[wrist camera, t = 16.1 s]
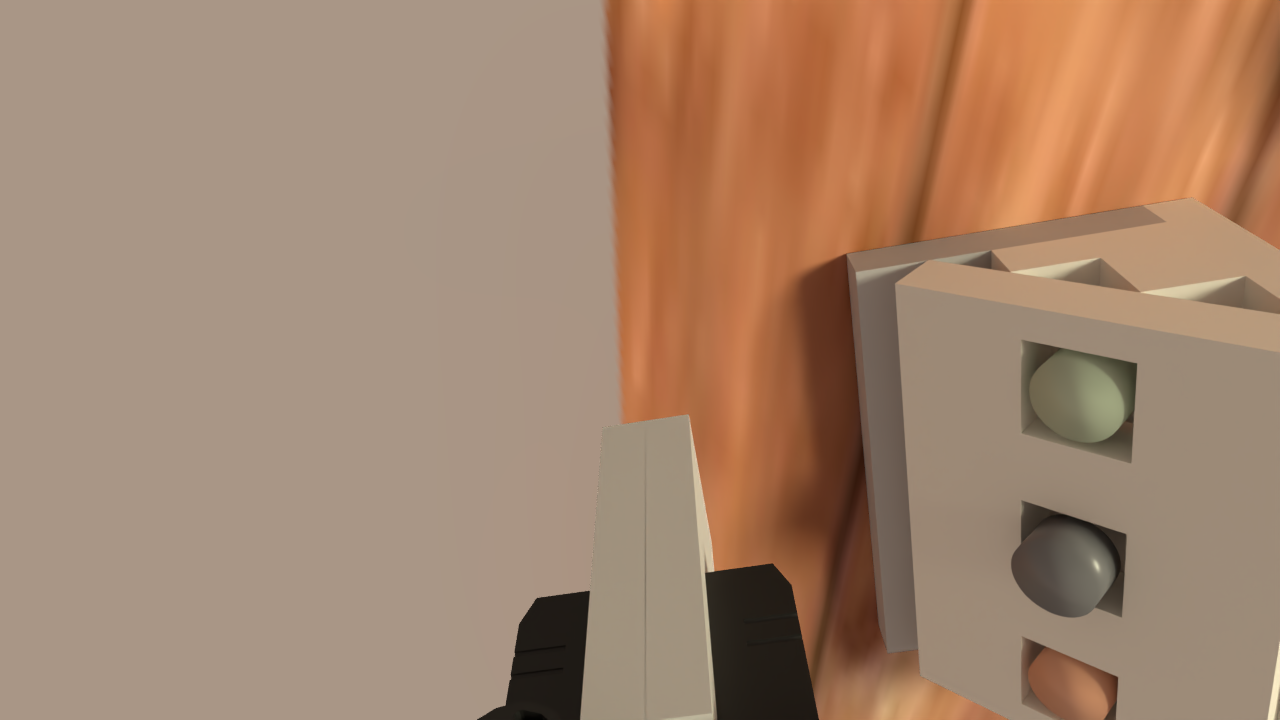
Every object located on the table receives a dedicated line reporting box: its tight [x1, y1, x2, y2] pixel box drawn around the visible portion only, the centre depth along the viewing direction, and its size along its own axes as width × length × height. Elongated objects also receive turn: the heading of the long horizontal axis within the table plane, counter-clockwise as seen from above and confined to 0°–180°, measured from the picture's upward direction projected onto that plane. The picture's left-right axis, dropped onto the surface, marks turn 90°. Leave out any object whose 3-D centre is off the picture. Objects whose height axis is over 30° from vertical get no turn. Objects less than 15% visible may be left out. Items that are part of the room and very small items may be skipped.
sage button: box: [1029, 348, 1137, 443], centre depth 42 cm, size 4×4×4 cm
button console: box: [846, 198, 1280, 720], centre depth 47 cm, size 25×17×17 cm
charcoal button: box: [1011, 514, 1121, 618], centre depth 45 cm, size 4×4×4 cm
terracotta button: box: [1028, 646, 1118, 720], centre depth 49 cm, size 4×4×4 cm
